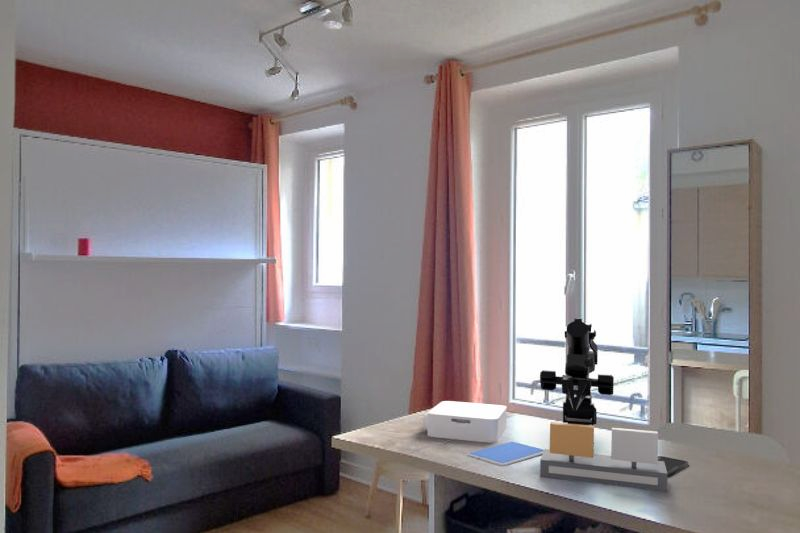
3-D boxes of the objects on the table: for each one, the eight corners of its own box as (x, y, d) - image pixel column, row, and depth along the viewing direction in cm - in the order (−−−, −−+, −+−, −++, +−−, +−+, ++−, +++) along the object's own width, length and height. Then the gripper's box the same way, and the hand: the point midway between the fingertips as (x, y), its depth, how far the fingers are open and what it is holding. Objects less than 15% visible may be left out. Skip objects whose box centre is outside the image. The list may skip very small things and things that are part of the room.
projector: (438, 421, 210) (438, 400, 210) (507, 427, 203) (507, 405, 203) (420, 436, 190) (421, 413, 190) (496, 444, 183) (497, 419, 183)
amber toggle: (550, 455, 156) (550, 422, 156) (593, 459, 153) (594, 425, 153) (549, 457, 154) (550, 423, 154) (593, 462, 151) (593, 427, 151)
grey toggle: (611, 461, 152) (611, 427, 152) (656, 466, 148) (657, 431, 149) (611, 463, 150) (611, 429, 150) (657, 468, 147) (657, 433, 147)
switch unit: (544, 464, 163) (544, 448, 163) (663, 478, 154) (664, 460, 154) (539, 476, 153) (540, 459, 153) (667, 491, 144) (667, 473, 144)
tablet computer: (502, 468, 161) (503, 463, 161) (465, 457, 170) (465, 452, 170) (548, 455, 174) (548, 450, 174) (511, 445, 183) (511, 440, 183)
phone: (635, 467, 160) (659, 455, 171) (635, 472, 160) (659, 459, 171) (668, 474, 154) (690, 461, 165) (668, 479, 154) (690, 466, 165)
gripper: (541, 340, 173) (535, 388, 163) (614, 344, 168) (613, 394, 157) (543, 364, 181) (538, 412, 171) (613, 369, 175) (612, 419, 165)
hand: (574, 409), depth 166 cm, fingers closed
